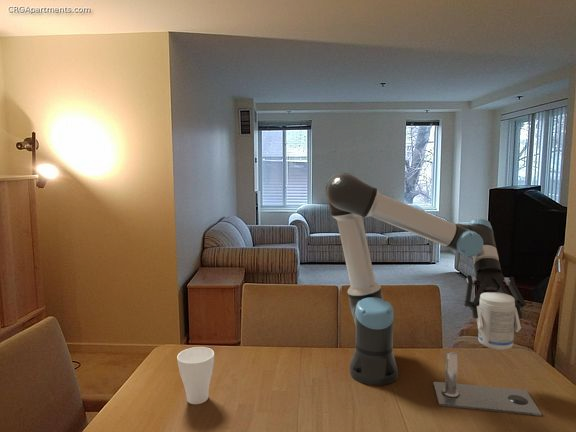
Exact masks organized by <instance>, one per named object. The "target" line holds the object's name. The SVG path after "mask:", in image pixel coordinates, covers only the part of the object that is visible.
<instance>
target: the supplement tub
mask: <svg viewBox="0 0 576 432" xmlns="http://www.w3.org/2000/svg"><path fill="white" fill-rule="evenodd" d="M512 296H513V295H512ZM512 296H510V295H508V294H504V293H498V291H494V292H493V291H487V292H482V294H481V295H480V299H479V301H478V303H479V304H478V306H480V311H481V317H482V322H483V328H482V330H478V329H477V330H478V332H477V333H478V335H477V336H478V337H477V339H478V342H479V343H480V344H481V345H482V346H484V347H485V348H489V349H493V350H498V351H500V350H509V349H511V348H513V345H514V337H515V335H514V333H515V327H514V320H515V299H514V297H512Z"/></svg>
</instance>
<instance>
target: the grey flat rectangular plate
mask: <svg viewBox="0 0 576 432" xmlns="http://www.w3.org/2000/svg"><path fill="white" fill-rule="evenodd" d="M433 386H434V387H433V388H434V391H435V395H436V400H437V403H438V406H439V407H449V408H457V409H458V408H459V409H469V410H479V411H489V412H499V413H511V414H519V415H529V416H540V417H543V416H542V412H541V411H540V409H539V407H538V406H537V405H536V403H535V402H534V400H533V398H532V396H531V395H530V394H529V392H528V390H526V389H521V388H520V389H519V388H510V387H500V386H499V387H497V386H488V385H486V386H485V385H484V386H483V385H475V384H464V383H463V384H462V383H457V386H456V390H457V391H458V392H459V396H458V397H455V398H451V397H447V396H445V395H444V394H443V389H444V388H445V382H441V381H440V382H439V381H433Z"/></svg>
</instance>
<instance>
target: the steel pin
mask: <svg viewBox="0 0 576 432" xmlns="http://www.w3.org/2000/svg"><path fill="white" fill-rule="evenodd" d="M458 360H459V354H458V353H456V352H453V351H449V352H446V360H445V361H446V363H445V364H446V365H445V382H444V383H445V388H444V389H443V394H444V395H445V396H447V397H451V398H455V397H458V396H459V392H458V391H457V390H456V386H457V384H458V380H457V379H458Z"/></svg>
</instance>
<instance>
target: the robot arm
mask: <svg viewBox="0 0 576 432" xmlns="http://www.w3.org/2000/svg"><path fill="white" fill-rule="evenodd" d="M324 191H325V195H326V198H327V201H328V206H329V212H330V214H331V217H332V218H333V219H335V220H336V222H337V227H338V232H339V237H340V242H341V246H342V250H343V256H344V257H343V258H344V261H345V265H346V269H347V275H348V279H349V284H350V286H349V288H348V289H347V297H348V301H349V310H350V313H351V315H352V318H353V319H352V320H353V321H354V325H355V347H354V348H355V350H354V351H353V352H354V353H353V354H352V358H351V361H350V363H349V374H350V376H351V377H352V378H353V379H355V380H356V381H357V382H360V383H362V384H365V385H369V386H370V385H371V386H386V385H389V384H392V383H394V382H395V381H396V380H397V379H398V375H399V368H398V365H397V362H396V359H395V355H394V353H393V351H394V350H393V347H394V346H393V345H394V320H395V319H394V318H395V314H394V308H393V305H392V304H391V303H390V302H389V301H388V300H385V299H384V296H383V291H382V287H381V286H382V285H381V284H380V283H378V282H377V281H376V280H375V278H376V277H375V275H374V268H373V264H372V260H371V259H372V257H371V254H370V249H369V244H368V239H367V234H366V228H365V226H364V225H365V224H364V220H363V218H365V219H367V218H369V217H371V218H375V219H376V220H378V221H381V222H384V223H386V224H389V225H391V226H393V227H396V228H399V229H401V230H404V231H406V232H409V233H410V234H414V235H416V236H419V237H420V238H424V239H426V240H428V241H431V242H433V243H434V244H435V245H436V244H437V245H440V246H444V247H446V248H447V249H448V248H449V249H451V250H452V251H455V252H458V253H459V254H460V255H463V256H466V257H472V261H473V266H474V272H475V276H472V275H470V274H469V275H468V274H467V277H466V279H465V282H466V290H465V291H466V292H465V298H464V303H463V304H464V306H465V308H470V310H471V313H472V318H473V319H476V323H477V330H482V328H483V322H482V317H481V311H480V306H479V305H478V303H479V301H480V295H481V294H482V293H484V290H485V291H489V290H490V291H491V290H492V291H496V292H498V293H504V294H508V295H510V296H512V297H514V299H515V320H514V333H518V332H520V331H521V329H522V327H521V322H520V321H521V320H522V317H523V316H522V312H521V310H523V309H524V308H525V307H526V305H527V303H526V300H525V299H524V298H523V296H522V294H521V292H520V290H519V289H518V287H517V285H516V283H515V277H514V276H513V275H512V276H510V277H505V276H504V275H503V272H502V268H501V262H500V261H499V259H500V258H499V253H498V250H497V245H496V241H495V236H494V234H495V233H494V230H493V227H492V225H491V222H490V221H489V220H487V219H485V218H478V219H472V220H471V221H469V222H468V223H467V224H461V223H453V222H451V221H448V220H446V219H444V218H441V217H439V216H436V215H434V214H431V213H429V212H426V211H425V210H422V209H419V208H417V207H414V206H412V205H410V204H408V203H407V204H406V203H404V202H402V201H399V200H397V199H395V198H392V197H390V196H388V195H385V194H382V193H381V192H380V191H379V188H376V187H374V186H371V185H370V184H368V183H366V182H364V181H363V180H361V179H359V178H358V177H357V176H355V175H353V174H351V173H349V172H339V173H336V174H334V175H332V176H331V178H329V179H328V181H327V183H326V185H325V190H324ZM475 282H476V283H477V284H478V285H479V288H478V290H477V292H476V294H475V297H474V299H473V300H472V301H471V299H472V292H473V286H474V285H473V284H474V283H475ZM503 282H504V283H505V284H506V285H505V284H504V283H503ZM506 286H508V289H509V291H508V289H507V288H506Z"/></svg>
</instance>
